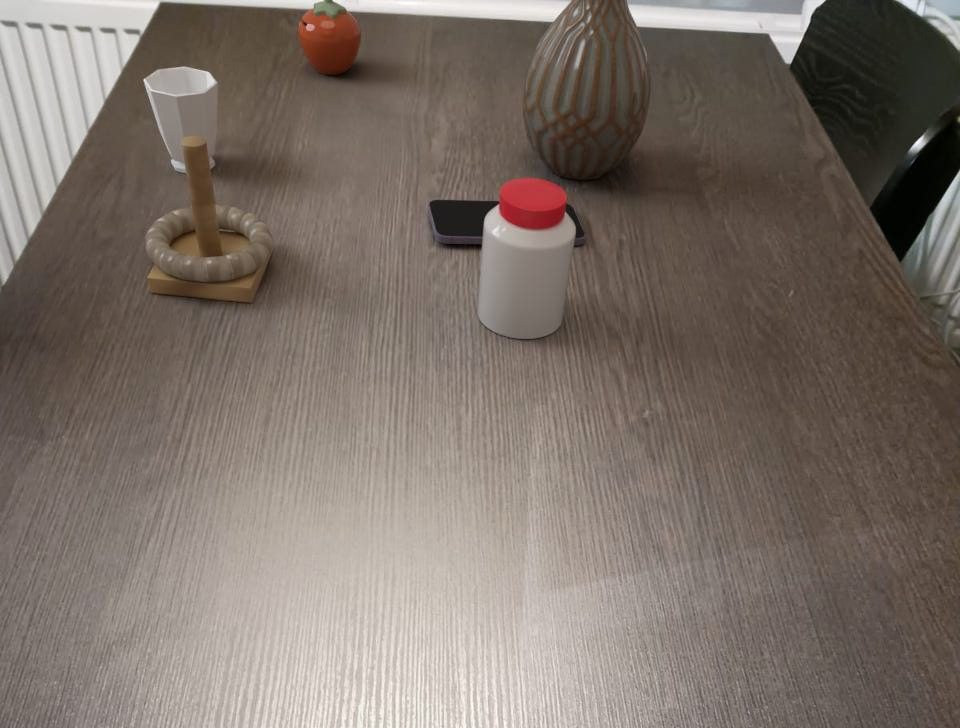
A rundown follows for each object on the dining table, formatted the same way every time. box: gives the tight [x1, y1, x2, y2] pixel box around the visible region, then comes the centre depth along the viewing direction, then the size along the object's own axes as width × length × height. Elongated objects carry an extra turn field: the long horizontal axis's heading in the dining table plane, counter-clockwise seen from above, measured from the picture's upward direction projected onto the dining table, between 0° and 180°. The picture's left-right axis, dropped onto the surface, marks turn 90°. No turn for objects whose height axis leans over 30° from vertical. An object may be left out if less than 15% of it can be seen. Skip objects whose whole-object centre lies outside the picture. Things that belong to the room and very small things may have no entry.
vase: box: [522, 0, 652, 181], centre depth 99 cm, size 13×13×18 cm
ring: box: [144, 204, 275, 282], centre depth 86 cm, size 11×11×2 cm
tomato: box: [297, 0, 362, 76], centre depth 114 cm, size 7×7×8 cm
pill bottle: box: [476, 177, 576, 340], centre depth 82 cm, size 8×8×11 cm
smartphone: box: [427, 199, 586, 247], centre depth 96 cm, size 7×1×15 cm
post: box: [146, 136, 274, 304], centre depth 83 cm, size 9×9×12 cm
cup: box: [143, 66, 218, 174], centre depth 98 cm, size 7×10×8 cm
